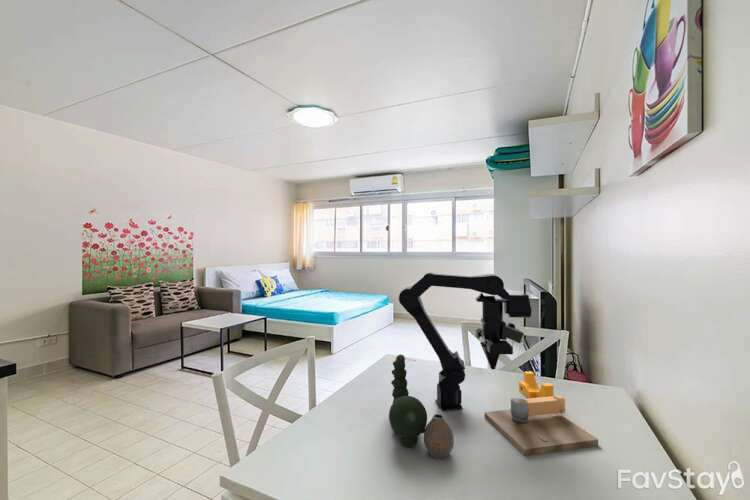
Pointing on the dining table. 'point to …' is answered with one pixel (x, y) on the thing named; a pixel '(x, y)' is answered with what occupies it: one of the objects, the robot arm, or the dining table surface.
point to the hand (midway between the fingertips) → (492, 368)
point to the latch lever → (537, 406)
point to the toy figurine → (405, 408)
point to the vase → (438, 437)
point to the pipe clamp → (534, 387)
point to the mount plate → (540, 432)
